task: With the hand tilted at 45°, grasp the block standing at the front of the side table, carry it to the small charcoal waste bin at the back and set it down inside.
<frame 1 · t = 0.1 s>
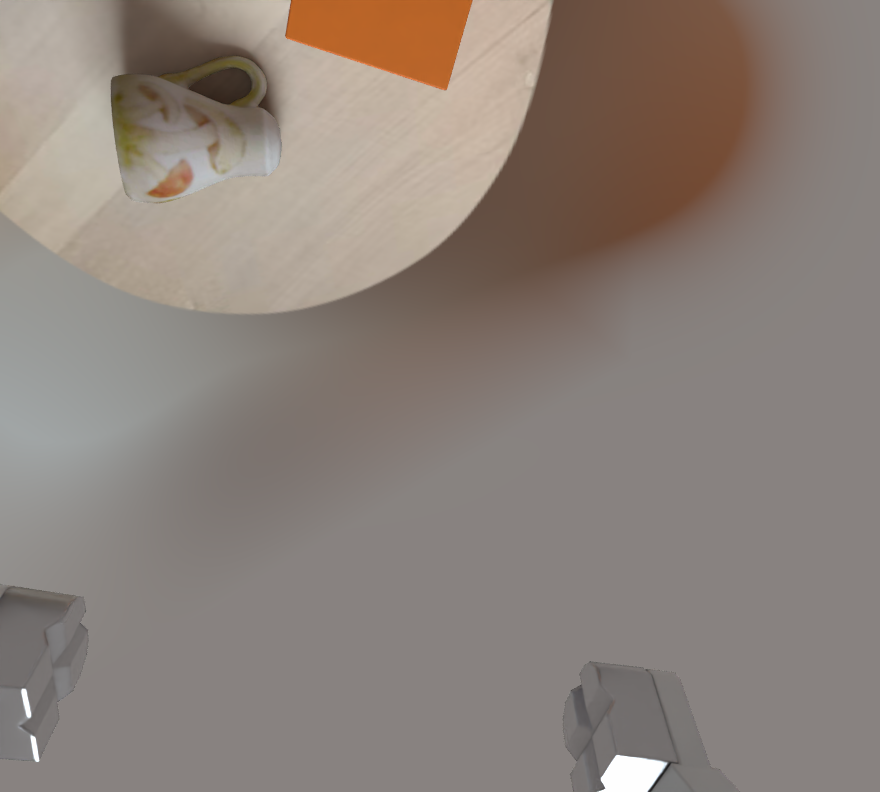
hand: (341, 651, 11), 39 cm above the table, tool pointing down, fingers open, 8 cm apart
mug: (210, 123, 44), on the table
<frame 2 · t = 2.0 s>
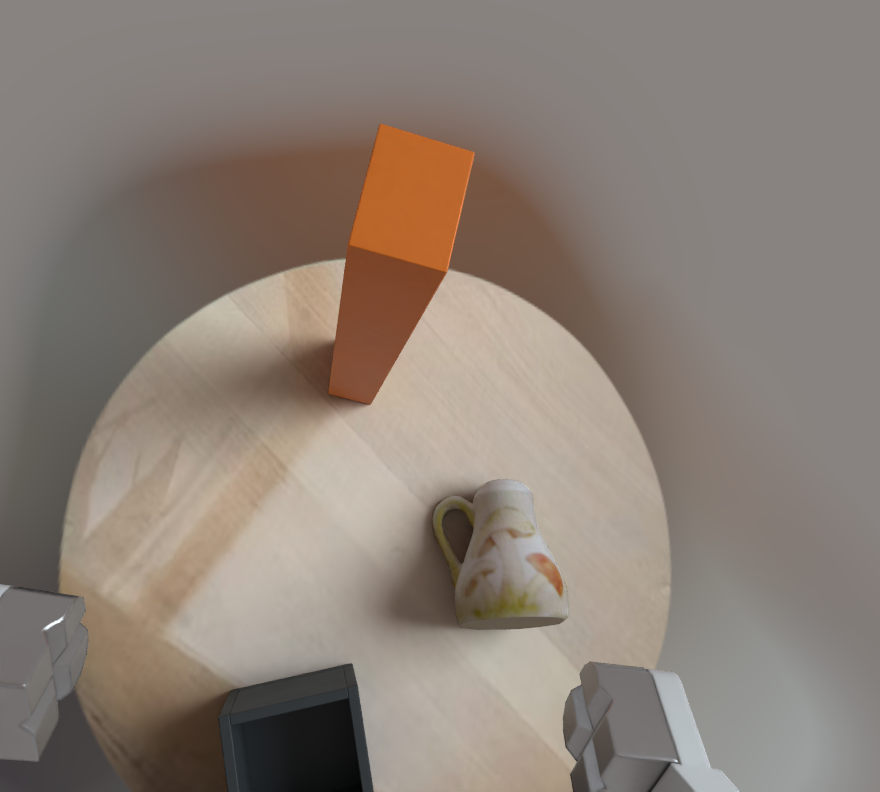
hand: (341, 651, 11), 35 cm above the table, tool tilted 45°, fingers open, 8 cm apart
mug: (490, 552, 48), on the table
block: (356, 371, 48), on the table
bin: (300, 739, 44), on the table
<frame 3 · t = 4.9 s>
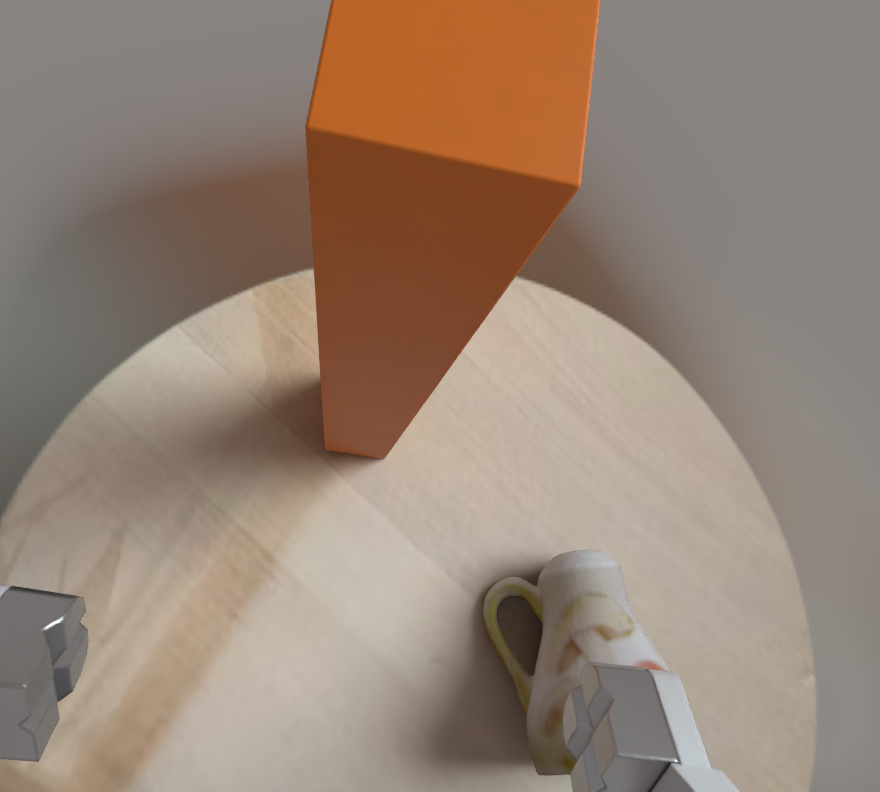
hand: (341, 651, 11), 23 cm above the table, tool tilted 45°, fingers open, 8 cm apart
mug: (565, 651, 34), on the table
block: (361, 415, 35), on the table
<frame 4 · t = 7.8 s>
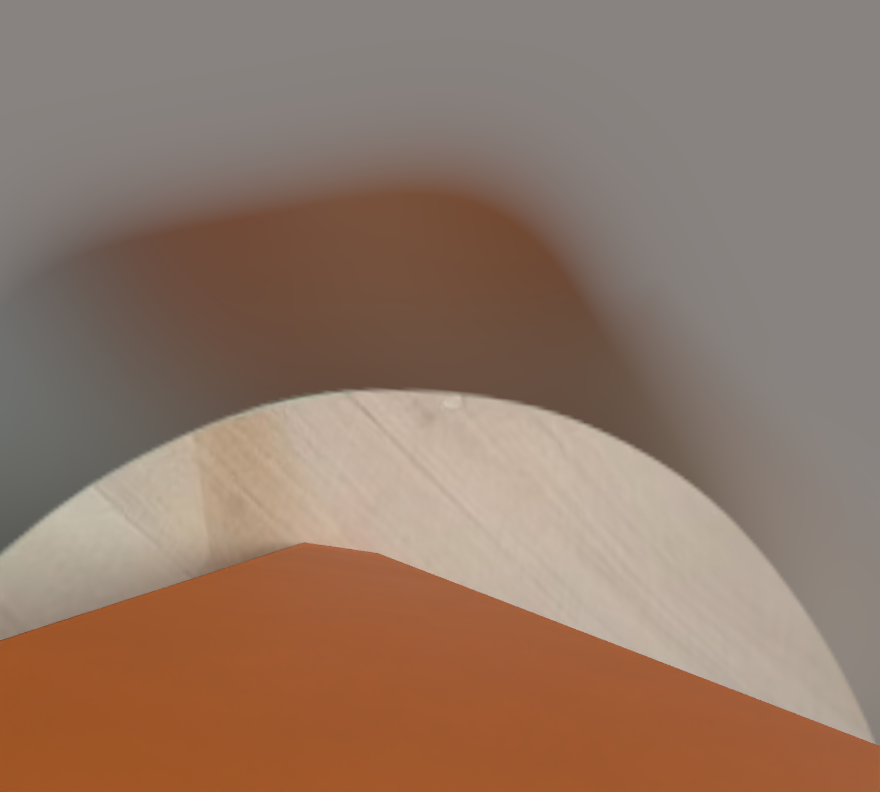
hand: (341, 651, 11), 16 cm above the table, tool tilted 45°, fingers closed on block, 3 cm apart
block: (332, 600, 27), on the table, touching gripper
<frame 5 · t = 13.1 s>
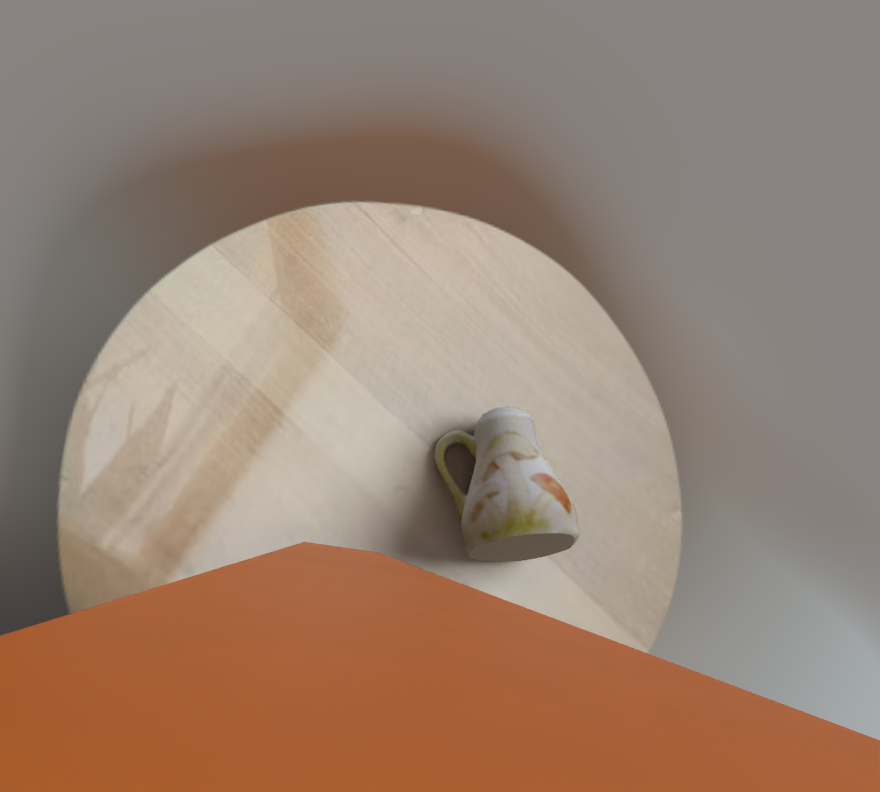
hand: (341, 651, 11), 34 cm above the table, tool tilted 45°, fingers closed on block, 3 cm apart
mug: (495, 486, 47), on the table
block: (332, 599, 27), point 18 cm above the table, touching gripper
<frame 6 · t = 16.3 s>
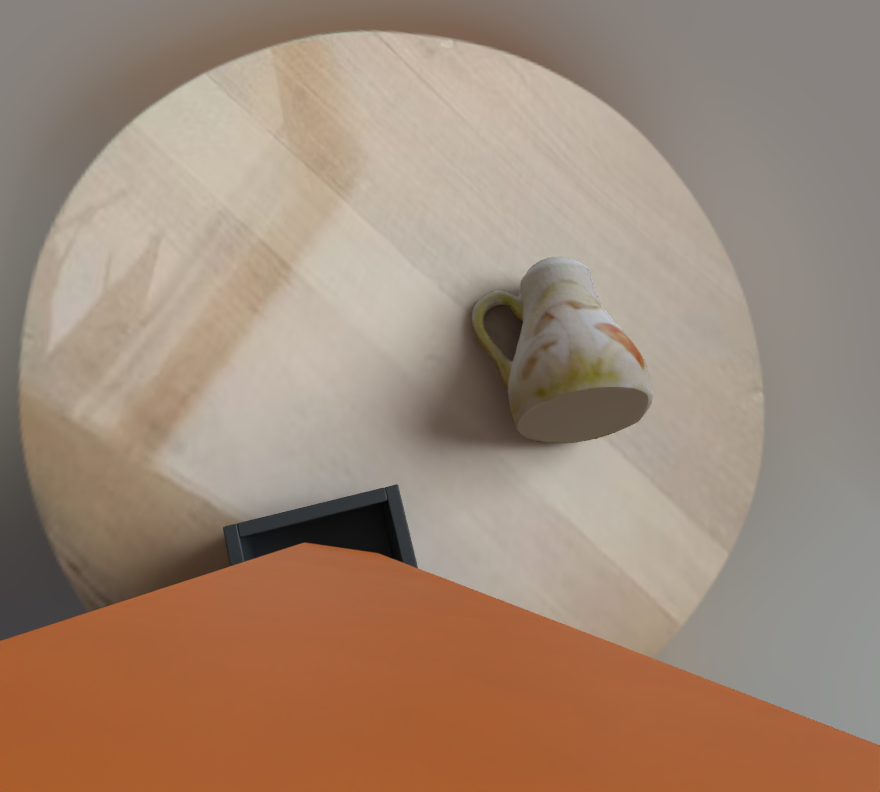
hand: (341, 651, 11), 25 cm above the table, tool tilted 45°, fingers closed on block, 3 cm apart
mug: (543, 359, 39), on the table
block: (332, 599, 27), point 8 cm above the table, touching gripper
bin: (331, 584, 35), on the table
when the fingers open (17 cm above the table, at t = 18.7 s): block stays where it is, resting on bin.
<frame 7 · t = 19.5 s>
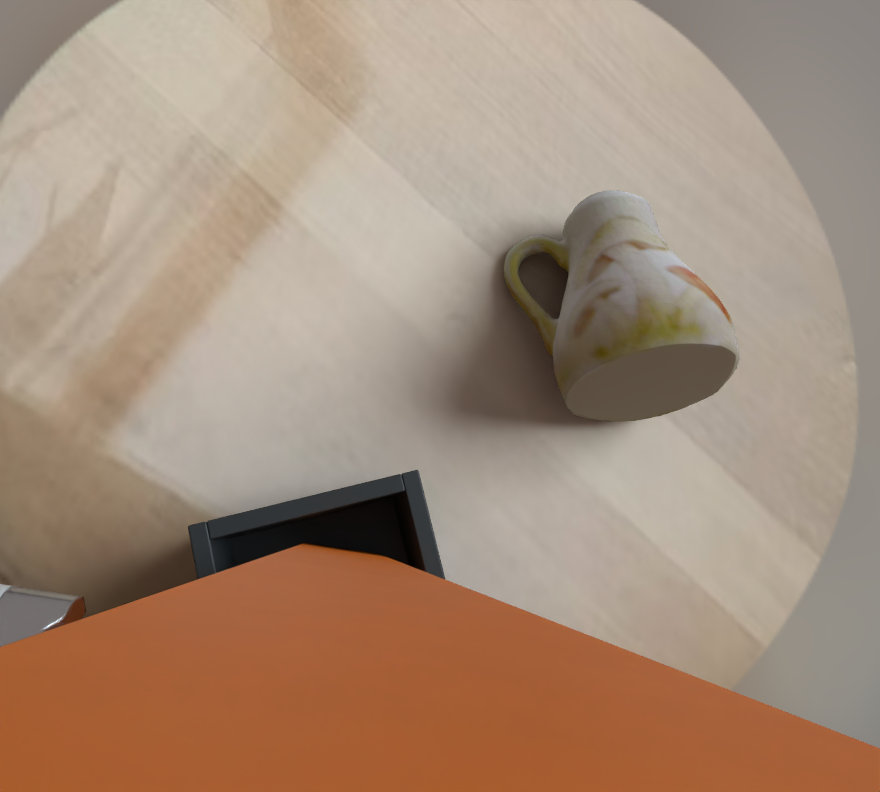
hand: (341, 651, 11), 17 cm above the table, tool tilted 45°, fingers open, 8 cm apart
mug: (591, 320, 32), on the table
block: (332, 599, 27), point 1 cm above the table, touching bin
bin: (331, 597, 28), on the table
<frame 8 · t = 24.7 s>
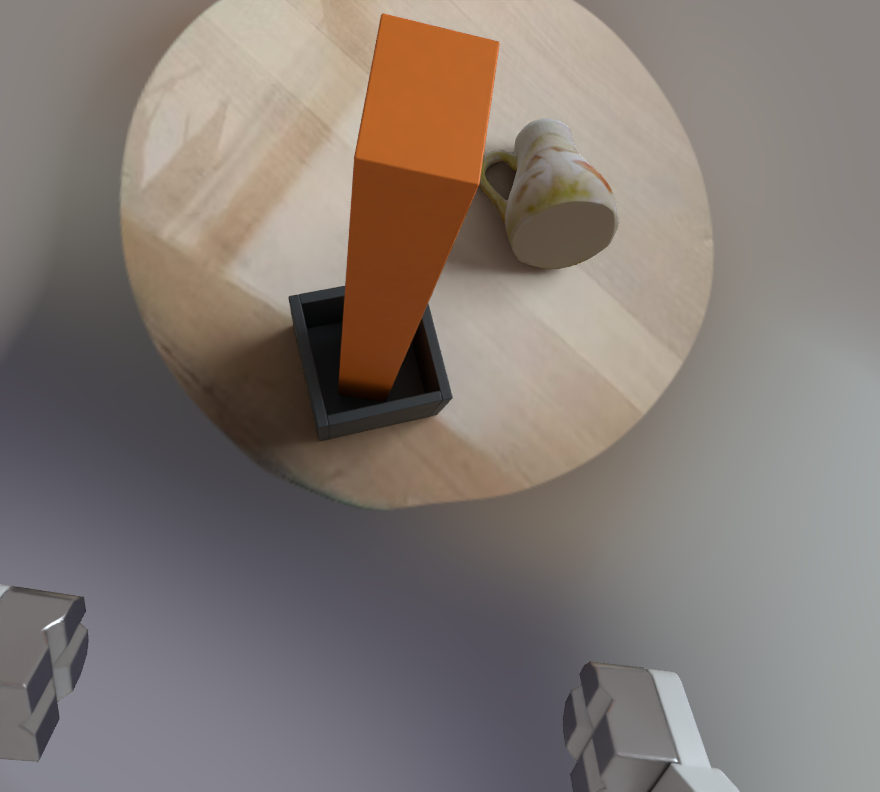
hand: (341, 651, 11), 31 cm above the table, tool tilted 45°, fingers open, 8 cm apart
mug: (533, 207, 49), on the table
block: (366, 368, 44), point 1 cm above the table, touching bin
bin: (365, 370, 44), on the table
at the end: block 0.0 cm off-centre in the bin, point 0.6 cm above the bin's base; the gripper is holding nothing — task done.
